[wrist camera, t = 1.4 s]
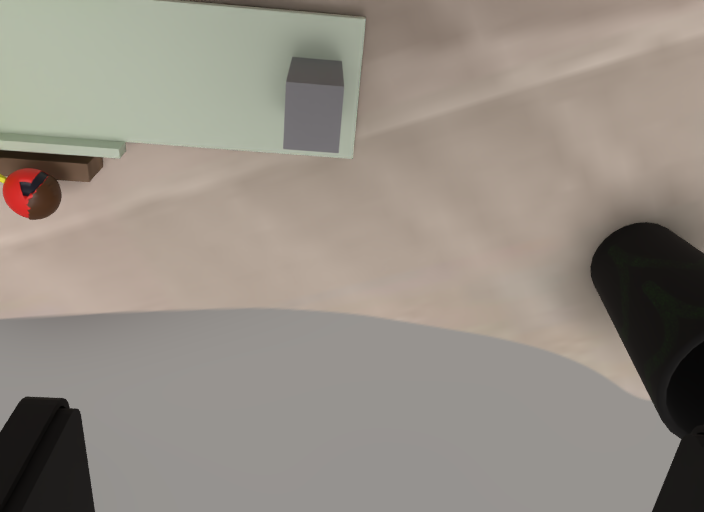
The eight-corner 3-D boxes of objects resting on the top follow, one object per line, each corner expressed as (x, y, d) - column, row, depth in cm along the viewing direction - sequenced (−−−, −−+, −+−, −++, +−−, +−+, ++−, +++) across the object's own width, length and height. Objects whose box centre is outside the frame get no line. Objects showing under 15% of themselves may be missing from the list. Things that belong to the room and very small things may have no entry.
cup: (568, 319, 43) (647, 454, 32) (578, 211, 39) (671, 322, 29) (687, 310, 43) (806, 442, 32) (708, 201, 39) (849, 309, 29)
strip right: (-320, -56, 31) (-463, -49, 25) (366, 6, 33) (373, 25, 27) (-261, 117, 35) (-375, 156, 29) (351, 162, 37) (355, 207, 31)
